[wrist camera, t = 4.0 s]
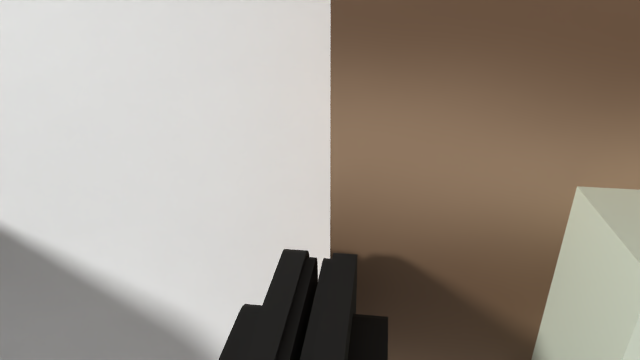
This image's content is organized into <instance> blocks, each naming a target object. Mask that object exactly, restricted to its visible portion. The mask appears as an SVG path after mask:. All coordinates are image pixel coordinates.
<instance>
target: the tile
mask: <svg viewBox="0 0 640 360" xmlns="http://www.w3.org/2000/svg"><path fill="white" fill-rule="evenodd" d="M531 360H640V190H636V189H617V188H598V187H578V186H577V188H576V192H575V196H574V200H573V204H572V207H571V211H570V215H569V219H568V223H567V226H566V230H565V234H564V238H563V242H562V245H561V249H560V253H559V257H558V260H557V264H556V268H555V272H554V276H553V279H552V283H551V287H550V291H549V295H548V298H547V302H546V306H545V310H544V314H543V317H542V321H541V325H540V329H539V333H538V336H537V340H536V344H535V348H534V352H533V355H532V359H531Z"/></svg>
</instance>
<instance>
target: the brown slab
mask: <svg viewBox="0 0 640 360" xmlns="http://www.w3.org/2000/svg"><path fill="white" fill-rule="evenodd" d="M577 186H578V187H598V188H617V189H636V190H640V0H331V219H330V259H332V256H333V253H346V254H357V294H356V314H363V315H374V316H385V317H388V360H531V359H532V355H533V352H534V348H535V344H536V340H537V336H538V333H539V329H540V325H541V321H542V317H543V314H544V310H545V306H546V302H547V298H548V295H549V291H550V287H551V283H552V279H553V276H554V272H555V268H556V264H557V260H558V257H559V253H560V249H561V245H562V242H563V238H564V234H565V230H566V226H567V223H568V219H569V215H570V211H571V207H572V204H573V200H574V196H575V192H576V188H577Z"/></svg>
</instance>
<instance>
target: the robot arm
mask: <svg viewBox="0 0 640 360" xmlns="http://www.w3.org/2000/svg"><path fill="white" fill-rule="evenodd" d="M356 294H357V254H346V253H333V256H332V259H326V258H324V259H323V262H322V267H321V271H320V275H319V279H318V269H317V258H313V257H309V252H308V251H304V250H290V249H284V250H283V252H282V255H281V257H280V260H279V263H278V265H277V268H276V271H275V273H274V276H273V279H272V281H271V284H270V287H269V289H268V292H267V295H266V297H265V300H264V303H263V305H262V306H261V305H250V304H245V305H243V306H242V308H241V310H240V312H239V314H238V316H237V319H236V321H235V323H234V326H233V328H232V330H231V332H230V335H229V337H228V339H227V342H226V344H225V346H224V349H223V351H222V353H221V355H220V358H219V360H388V317H385V316H374V315H363V314H356Z"/></svg>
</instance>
